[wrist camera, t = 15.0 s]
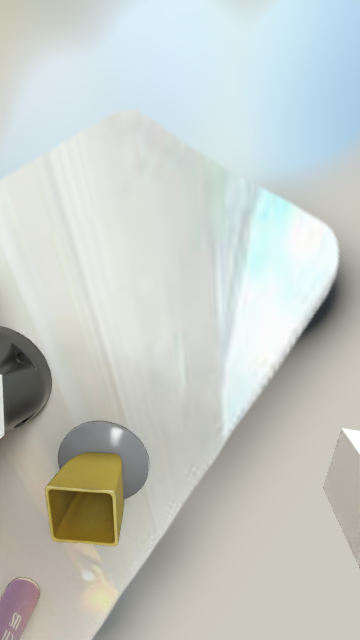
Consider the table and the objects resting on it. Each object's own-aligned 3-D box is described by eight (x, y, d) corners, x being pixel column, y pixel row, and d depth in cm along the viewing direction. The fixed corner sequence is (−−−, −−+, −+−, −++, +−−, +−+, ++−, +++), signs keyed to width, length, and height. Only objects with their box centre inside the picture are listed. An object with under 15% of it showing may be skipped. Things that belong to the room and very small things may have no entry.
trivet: (59, 489, 50) (57, 493, 49) (61, 414, 46) (58, 417, 45) (144, 503, 49) (143, 508, 49) (153, 429, 46) (152, 432, 45)
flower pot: (132, 443, 46) (114, 492, 37) (133, 491, 48) (117, 547, 39) (74, 439, 46) (43, 486, 38) (78, 486, 49) (51, 541, 40)
